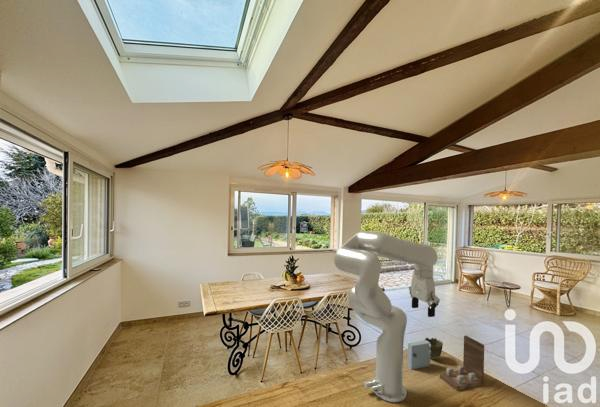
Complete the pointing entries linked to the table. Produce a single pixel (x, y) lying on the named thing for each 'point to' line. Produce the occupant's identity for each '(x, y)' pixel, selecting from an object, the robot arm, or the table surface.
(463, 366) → the cabinet base
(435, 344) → the cup
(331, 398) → the table surface
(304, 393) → the table surface
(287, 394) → the table surface
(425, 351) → the door
